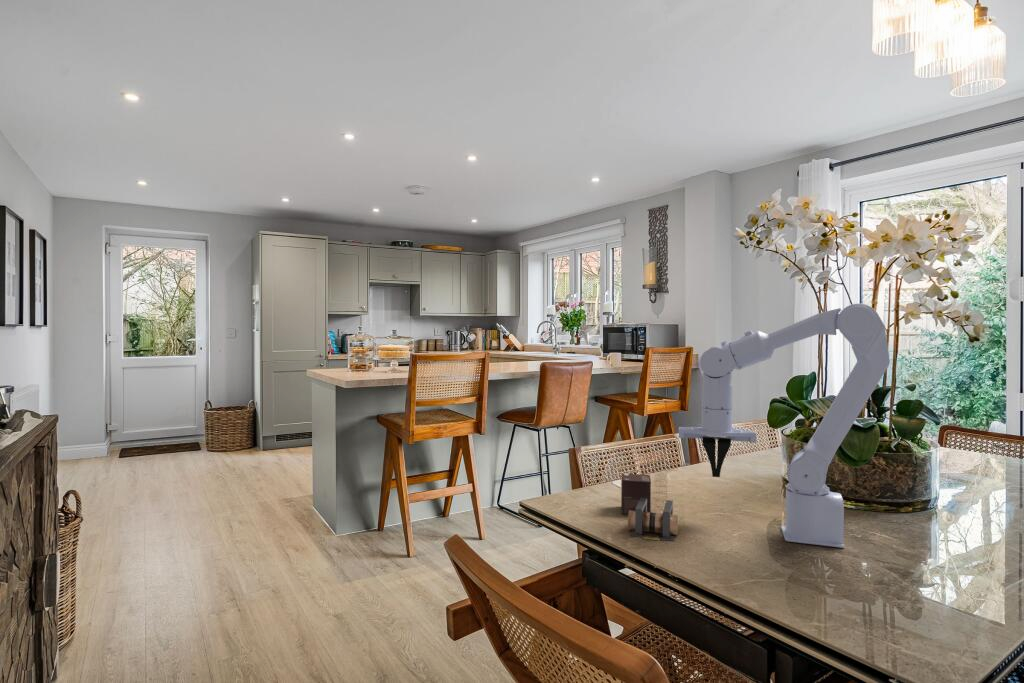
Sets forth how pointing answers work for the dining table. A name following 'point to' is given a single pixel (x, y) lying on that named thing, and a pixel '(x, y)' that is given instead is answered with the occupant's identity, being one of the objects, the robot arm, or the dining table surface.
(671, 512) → the dark grey support bracket
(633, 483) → the box
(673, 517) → the tube
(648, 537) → the index mark
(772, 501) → the dining table surface
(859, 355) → the robot arm
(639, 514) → the collar
